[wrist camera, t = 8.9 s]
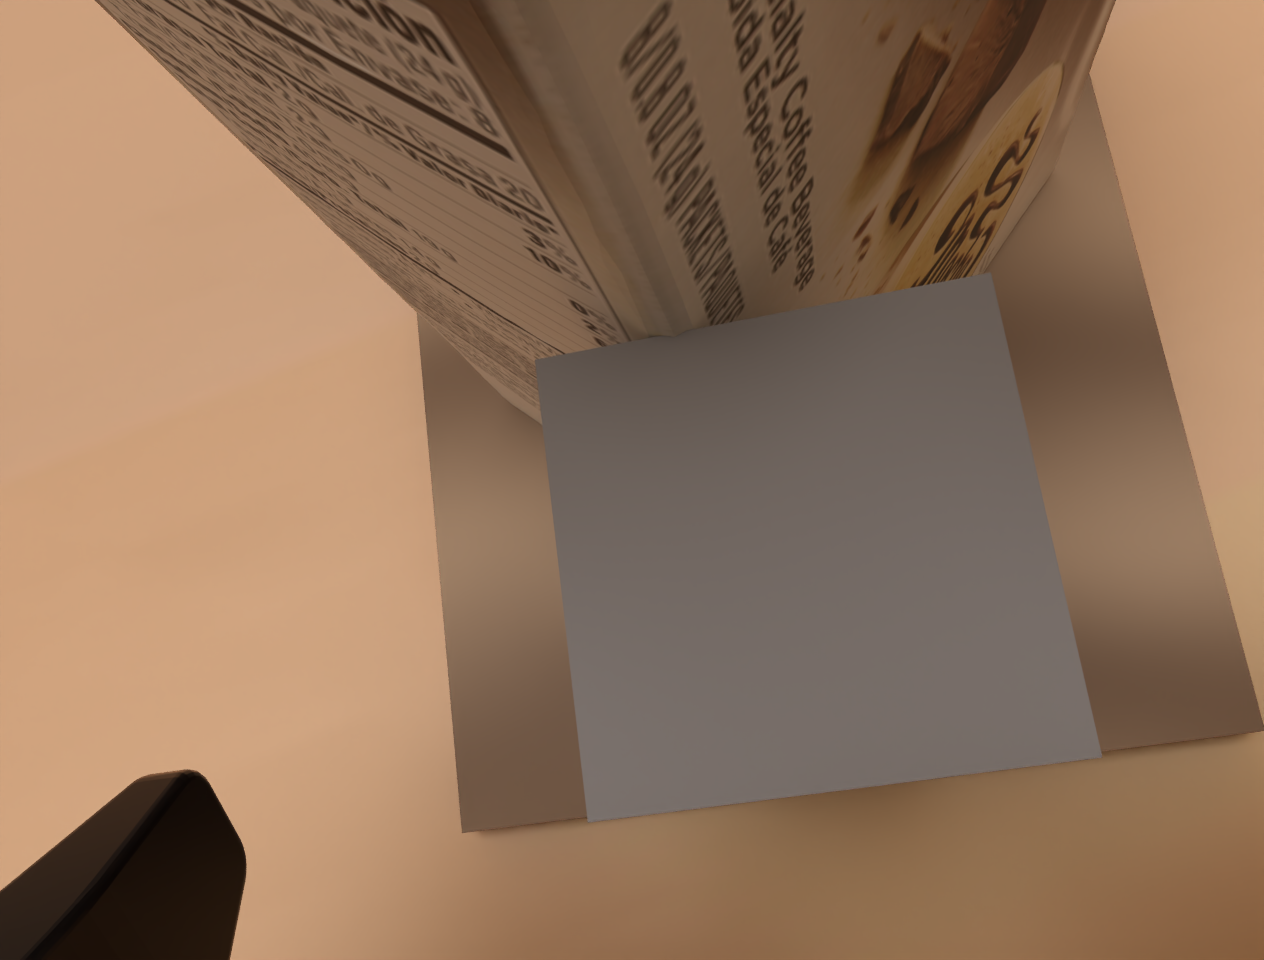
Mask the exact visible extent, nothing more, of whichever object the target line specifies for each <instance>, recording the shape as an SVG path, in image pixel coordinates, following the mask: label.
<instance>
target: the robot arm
mask: <svg viewBox="0 0 1264 960" xmlns="http://www.w3.org/2000/svg"><path fill="white" fill-rule="evenodd" d="M245 879H246V856H245V851H244V847H243V844H242V842H241V840H240V838H239V836H238V834H237V832H236V831H235V829H234V827H233V825H232V823H231V821H230V820H229V818H228V816H227V814H226V812H225V811H224V809H223V807H222V805H221V803H220V802H219V800H218V798H217V796H216V794H215V792H214V791H213V789H212V787H211V785H210V783H209V782H208V780H207V779H206V778H205V777H204V776H203V775H202V774H200V773H199V772H197V771H194V770H179V771H172V772H164V773H157V774H150V775H147V776H143V777H141V778H139V779H137V780H136V781H134V782H133V783H132V784H130V785H129V786H128V787H127V788H126V789H124V790H123V791H122V792H121V793H119V794H118V795H117V796H116V797H115V798H113V799H112V800H111V801H110V802H108V803H107V804H106V805H105V806H104V807H102V808H101V809H100V810H99V811H97V812H96V813H95V814H94V815H93V816H91V817H90V818H89V819H88V820H86V821H85V822H84V823H83V824H82V825H80V826H79V827H78V828H77V829H75V830H74V831H73V832H72V833H71V834H69V835H68V836H67V837H66V838H64V839H63V840H62V841H61V842H60V843H58V844H57V845H56V846H55V847H53V848H52V849H51V850H50V851H49V852H47V853H46V854H45V855H44V856H42V857H41V858H40V859H39V860H38V861H36V862H35V863H34V864H33V865H31V866H30V867H29V868H28V869H27V870H25V871H24V872H23V873H22V874H20V875H19V876H18V877H17V878H16V879H14V880H13V881H12V882H11V883H9V884H8V885H7V886H6V887H5V888H3V889H2V890H1V891H0V960H230V956H231V951H232V946H233V941H234V936H235V930H236V925H237V920H238V915H239V910H240V905H241V900H242V895H243V890H244V885H245Z"/></svg>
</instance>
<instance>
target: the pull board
mask: <svg viewBox="0 0 1264 960" xmlns="http://www.w3.org/2000/svg"><path fill="white" fill-rule="evenodd" d="M417 320H418V332H419V343H420V355H421V366H422V377H423V389H424V400H425V412H426V423H427V435H428V446H429V458H430V469H431V481H432V492H433V504H434V515H435V527H436V538H437V550H438V561H439V573H440V584H441V596H442V607H443V619H444V630H445V642H446V653H447V665H448V676H449V688H450V699H451V711H452V722H453V734H454V745H455V757H456V768H457V780H458V791H459V803H460V814H461V826H462V833H466V832H474V831H482V830H489V829H497V828H505V827H513V826H521V825H529V824H537V823H544V822H552V821H560V820H568V819H576V818H584V817H587V819H588V822H596V821H604V820H612V819H620V818H628V817H636V816H644V815H652V814H660V813H668V812H676V811H683V810H691V809H699V808H707V807H715V806H723V805H731V804H739V803H747V802H755V801H763V800H770V799H778V798H786V797H794V796H802V795H810V794H818V793H826V792H834V791H842V790H850V789H857V788H865V787H873V786H881V785H889V784H897V783H905V782H913V781H921V780H929V779H937V778H944V777H952V776H960V775H968V774H976V773H984V772H992V771H1000V770H1008V769H1016V768H1024V767H1031V766H1039V765H1047V764H1055V763H1063V762H1071V761H1079V760H1087V759H1095V758H1102V753H1101V752H1103V751H1111V750H1118V749H1126V748H1134V747H1142V746H1150V745H1158V744H1166V743H1173V742H1181V741H1189V740H1197V739H1205V738H1213V737H1221V736H1228V735H1236V734H1244V733H1252V732H1260V731H1264V725H1263V722H1262V718H1261V714H1260V710H1259V707H1258V703H1257V699H1256V695H1255V692H1254V688H1253V684H1252V680H1251V677H1250V673H1249V669H1248V665H1247V662H1246V658H1245V654H1244V650H1243V647H1242V643H1241V639H1240V636H1239V632H1238V628H1237V624H1236V621H1235V617H1234V613H1233V609H1232V606H1231V602H1230V598H1229V594H1228V591H1227V587H1226V583H1225V579H1224V576H1223V572H1222V568H1221V564H1220V561H1219V557H1218V553H1217V550H1216V546H1215V542H1214V538H1213V535H1212V531H1211V527H1210V523H1209V520H1208V516H1207V512H1206V508H1205V505H1204V501H1203V497H1202V493H1201V490H1200V486H1199V482H1198V478H1197V475H1196V471H1195V467H1194V464H1193V460H1192V456H1191V452H1190V449H1189V445H1188V441H1187V437H1186V434H1185V430H1184V426H1183V422H1182V419H1181V415H1180V411H1179V407H1178V404H1177V400H1176V396H1175V392H1174V389H1173V385H1172V381H1171V378H1170V374H1169V370H1168V366H1167V363H1166V359H1165V355H1164V351H1163V348H1162V344H1161V340H1160V336H1159V333H1158V329H1157V325H1156V321H1155V318H1154V314H1153V310H1152V306H1151V303H1150V299H1149V295H1148V292H1147V288H1146V284H1145V280H1144V277H1143V273H1142V269H1141V265H1140V262H1139V258H1138V254H1137V250H1136V247H1135V243H1134V239H1133V235H1132V232H1131V228H1130V224H1129V220H1128V217H1127V213H1126V209H1125V206H1124V202H1123V198H1122V194H1121V191H1120V187H1119V183H1118V179H1117V176H1116V172H1115V168H1114V164H1113V161H1112V157H1111V153H1110V149H1109V146H1108V142H1107V138H1106V134H1105V131H1104V127H1103V123H1102V120H1101V116H1100V112H1099V108H1098V105H1097V101H1096V97H1095V93H1094V90H1093V86H1092V82H1091V78H1090V75H1089V74H1088V77H1087V79H1086V81H1085V84H1084V88H1083V91H1082V93H1081V96H1080V98H1079V101H1078V104H1077V107H1076V110H1075V113H1074V116H1073V119H1072V122H1071V124H1070V127H1069V130H1068V132H1067V135H1066V137H1065V140H1064V142H1063V145H1062V148H1061V152H1060V155H1059V159H1058V161H1057V164H1056V166H1055V168H1054V170H1053V171H1052V173H1051V175H1050V176H1049V178H1048V179H1047V181H1046V182H1045V184H1044V185H1043V186H1042V188H1041V189H1040V191H1039V192H1038V194H1037V195H1036V197H1035V198H1034V199H1033V201H1032V202H1031V204H1030V205H1029V207H1028V208H1027V210H1026V211H1025V212H1024V214H1023V215H1022V217H1021V218H1020V220H1019V221H1018V223H1017V224H1016V226H1015V227H1014V229H1013V230H1012V231H1011V233H1010V234H1009V236H1008V237H1007V239H1006V240H1005V242H1004V243H1003V245H1002V246H1001V248H1000V249H999V251H998V252H997V254H996V255H995V257H994V258H993V259H992V261H991V262H990V264H989V265H988V267H987V268H986V270H985V271H984V273H983V274H980V275H975V276H970V277H965V278H960V279H954V280H949V281H944V282H939V283H933V284H928V285H923V286H918V287H912V288H907V289H902V290H897V291H892V292H886V293H881V294H876V295H871V296H865V297H860V298H855V299H850V300H844V301H839V302H834V303H829V304H824V305H818V306H813V307H808V308H803V309H797V310H792V311H787V312H782V313H777V314H771V315H766V316H761V317H756V318H750V319H745V320H740V321H735V322H729V323H724V324H719V325H714V326H709V327H703V328H698V329H693V330H688V331H685V332H683V333H681V334H679V335H678V336H676V337H671V336H656V337H651V338H646V339H641V340H635V341H630V342H625V343H620V344H614V345H609V346H604V347H599V348H593V349H588V350H583V351H578V352H573V353H567V354H562V355H557V356H552V357H546V358H541V359H536V360H535V365H536V374H537V383H538V392H539V400H540V409H541V418H542V424H540V423H539V422H537V421H536V420H534V419H533V418H531V417H530V416H528V415H527V414H525V413H524V412H522V411H521V410H519V409H518V408H516V407H515V406H514V405H512V404H511V403H510V402H509V401H507V400H506V399H505V398H504V397H503V396H502V395H501V394H500V393H499V392H498V391H497V390H496V389H495V388H494V387H493V386H492V385H491V384H490V383H489V382H488V381H487V380H485V379H484V378H483V377H482V376H481V374H480V373H479V372H478V371H477V370H476V369H475V368H474V367H473V366H472V365H471V364H470V363H469V362H468V361H467V360H466V359H465V358H464V357H463V356H462V355H461V354H460V353H459V352H458V351H457V350H456V349H455V348H454V347H453V346H452V345H451V344H450V343H449V342H448V341H447V340H446V339H445V338H444V337H443V336H442V335H441V334H440V333H439V332H438V331H437V330H436V329H435V328H433V327H432V326H431V325H430V324H429V323H428V322H427V321H426V320H425V319H424V318H422V317H421V316H420V315H419V314H418V313H417Z"/></svg>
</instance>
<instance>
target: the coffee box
mask: <svg viewBox="0 0 1264 960" xmlns="http://www.w3.org/2000/svg"><path fill="white" fill-rule="evenodd" d="M95 1H96V2H97V3H98V4H99V5H100V6H101V7H102V8H103V9H104V10H105V11H106V12H107V13H109V14H110V15H111V16H112V17H113V18H114V19H115V20H116V21H117V22H118V23H119V24H120V25H121V26H122V27H123V28H124V29H125V30H126V31H127V32H128V33H129V34H130V35H131V36H132V37H133V38H134V39H135V40H136V41H137V42H138V43H139V44H140V45H141V46H142V47H144V48H145V49H146V50H147V51H148V52H149V53H150V54H151V55H152V56H153V57H154V58H155V59H156V60H157V61H158V62H159V63H160V64H161V65H162V66H163V67H164V68H165V69H166V70H167V71H168V72H169V73H170V74H171V75H172V76H173V77H174V78H175V79H176V80H178V81H179V82H180V83H181V84H182V85H183V86H184V87H185V88H186V89H187V90H188V91H189V92H190V93H191V94H192V95H193V96H194V97H195V98H196V99H197V100H198V101H199V102H200V103H201V104H202V105H203V106H204V107H205V108H206V109H207V110H208V111H209V112H210V113H211V114H213V115H214V116H215V117H216V118H217V119H218V120H219V121H220V122H221V123H222V124H223V125H224V126H225V127H226V128H227V129H228V130H229V131H230V132H231V133H232V134H233V135H234V136H235V137H236V138H237V139H238V140H239V141H240V142H241V143H242V144H243V145H244V146H246V147H247V148H248V149H249V150H250V151H251V152H252V153H253V154H254V155H255V156H256V157H257V158H258V159H259V160H260V161H261V162H262V163H263V164H264V165H265V166H266V167H267V168H268V169H269V170H270V171H272V172H273V173H274V174H275V175H276V176H277V177H278V178H279V179H280V180H281V181H282V182H283V183H284V184H285V185H286V186H287V187H288V188H289V189H290V190H291V191H292V192H293V193H294V194H295V195H296V196H297V197H299V198H300V199H301V200H302V201H303V202H304V203H305V204H306V205H307V206H308V207H309V208H310V209H311V210H312V211H313V212H314V213H315V214H316V215H317V216H318V217H319V218H320V219H321V220H322V221H323V222H324V223H325V224H326V225H327V226H328V227H329V228H330V229H331V230H332V231H333V232H334V233H335V234H336V235H337V236H338V237H340V238H341V239H342V240H343V241H344V242H345V243H346V244H347V245H348V246H349V247H350V248H351V249H352V250H353V251H354V252H355V253H356V254H357V255H358V256H359V257H360V258H361V259H362V260H363V261H364V262H365V263H366V264H367V265H368V266H369V267H370V268H371V269H372V270H373V271H374V272H375V273H376V274H377V275H378V276H379V277H380V278H381V279H382V280H383V281H384V282H386V283H387V284H388V285H389V286H390V287H391V288H392V289H393V290H395V291H396V292H397V293H398V294H399V295H400V296H401V297H402V298H403V299H404V300H405V301H406V302H407V303H408V304H409V305H410V306H411V307H412V308H413V309H414V310H415V311H416V312H417V313H418V314H419V315H420V316H421V317H422V318H424V319H425V320H426V321H427V322H428V323H429V324H430V325H431V326H432V327H433V328H435V329H436V330H437V331H438V332H439V333H440V334H441V335H442V336H443V337H444V338H445V339H446V340H447V341H448V342H449V343H450V344H451V345H452V346H453V347H454V348H455V349H456V350H457V351H458V352H459V353H460V354H461V355H462V356H463V357H464V358H465V359H466V360H467V361H468V362H469V363H470V364H471V365H472V366H473V367H474V368H475V369H476V370H477V371H478V372H479V373H480V374H481V376H482V377H483V378H484V379H485V380H487V381H488V382H489V383H490V384H491V385H492V386H493V387H494V388H495V389H496V390H497V391H498V392H499V393H500V394H501V395H502V396H503V397H504V398H505V399H506V400H507V401H509V402H510V403H511V404H512V405H514V406H515V407H516V408H518V409H519V410H521V411H522V412H524V413H525V414H527V415H528V416H530V417H531V418H533V419H534V420H536V421H537V422H539V423H540V424H542V418H541V409H540V400H539V392H538V383H537V374H536V365H535V360H536V359H541V358H546V357H552V356H557V355H562V354H567V353H573V352H578V351H583V350H588V349H593V348H599V347H604V346H609V345H614V344H620V343H625V342H630V341H635V340H641V339H646V338H651V337H656V336H671V337H676V336H678V335H679V334H681V333H683V332H685V331H688V330H693V329H698V328H703V327H709V326H714V325H719V324H724V323H729V322H735V321H740V320H745V319H750V318H756V317H761V316H766V315H771V314H777V313H782V312H787V311H792V310H797V309H803V308H808V307H813V306H818V305H824V304H829V303H834V302H839V301H844V300H850V299H855V298H860V297H865V296H871V295H876V294H881V293H886V292H892V291H897V290H902V289H907V288H912V287H918V286H923V285H928V284H933V283H939V282H944V281H949V280H954V279H960V278H965V277H970V276H975V275H980V274H983V273H984V271H985V270H986V268H987V267H988V265H989V264H990V262H991V261H992V259H993V258H994V257H995V255H996V254H997V252H998V251H999V249H1000V248H1001V246H1002V245H1003V243H1004V242H1005V240H1006V239H1007V237H1008V236H1009V234H1010V233H1011V231H1012V230H1013V229H1014V227H1015V226H1016V224H1017V223H1018V221H1019V220H1020V218H1021V217H1022V215H1023V214H1024V212H1025V211H1026V210H1027V208H1028V207H1029V205H1030V204H1031V202H1032V201H1033V199H1034V198H1035V197H1036V195H1037V194H1038V192H1039V191H1040V189H1041V188H1042V186H1043V185H1044V184H1045V182H1046V181H1047V179H1048V178H1049V176H1050V175H1051V173H1052V171H1053V170H1054V168H1055V166H1056V164H1057V161H1058V159H1059V155H1060V152H1061V148H1062V145H1063V142H1064V140H1065V137H1066V135H1067V132H1068V130H1069V127H1070V124H1071V122H1072V119H1073V116H1074V113H1075V110H1076V107H1077V104H1078V101H1079V98H1080V96H1081V93H1082V91H1083V88H1084V84H1085V81H1086V79H1087V77H1088V74H1089V72H1090V69H1091V66H1092V63H1093V60H1094V57H1095V55H1096V52H1097V49H1098V47H1099V44H1100V42H1101V39H1102V37H1103V34H1104V31H1105V28H1106V25H1107V22H1108V20H1109V17H1110V14H1111V11H1112V9H1113V6H1114V4H1115V1H1116V0H95Z"/></svg>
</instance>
